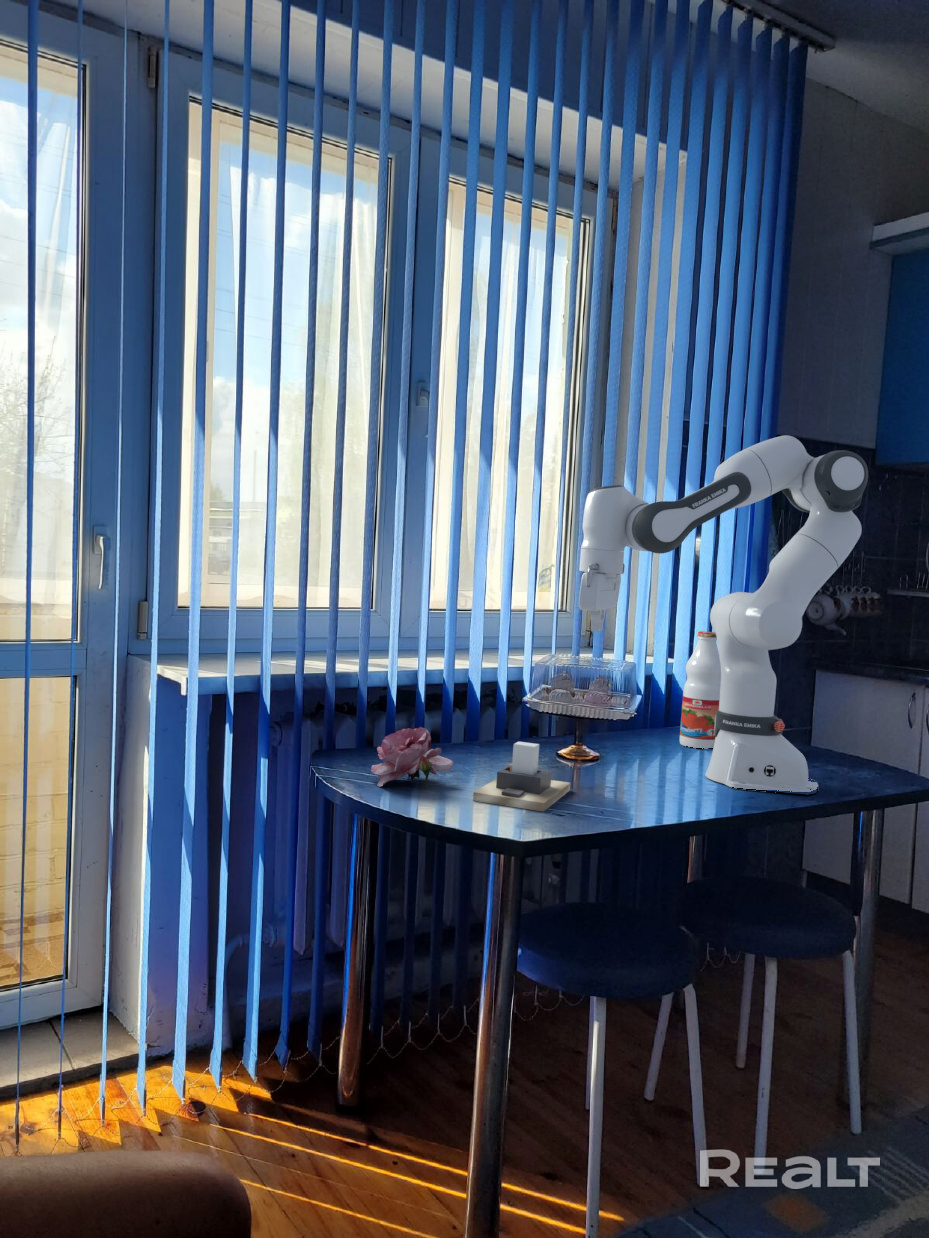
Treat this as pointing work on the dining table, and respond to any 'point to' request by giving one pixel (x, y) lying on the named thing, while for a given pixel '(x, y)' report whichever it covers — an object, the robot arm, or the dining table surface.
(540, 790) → the box
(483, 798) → the board
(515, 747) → the plug
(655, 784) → the dining table surface
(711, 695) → the fruit juice
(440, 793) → the dining table surface
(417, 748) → the flower
